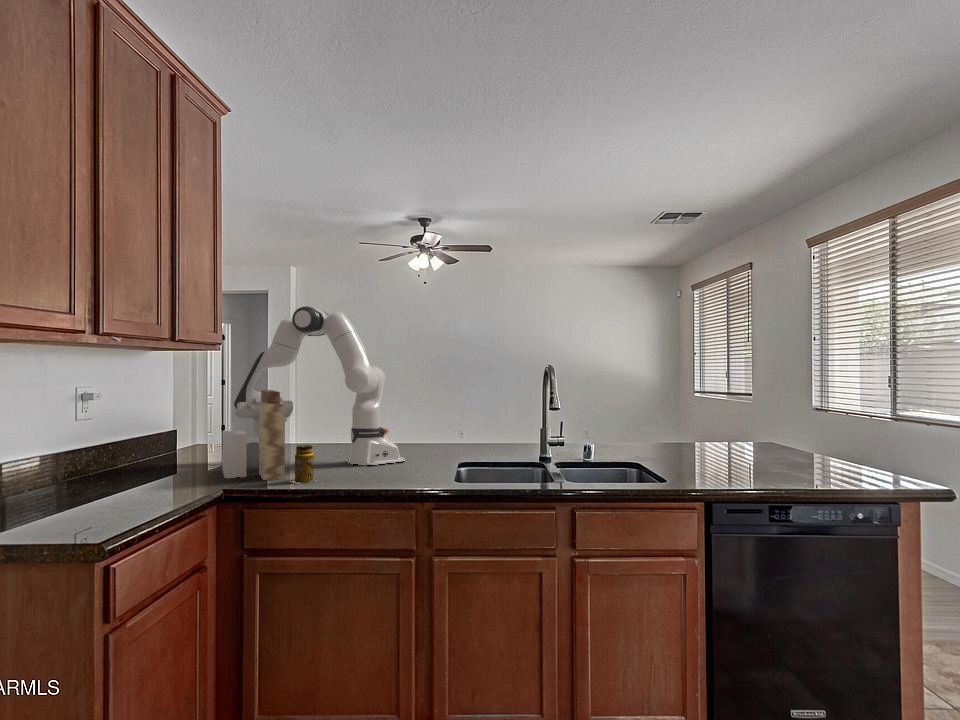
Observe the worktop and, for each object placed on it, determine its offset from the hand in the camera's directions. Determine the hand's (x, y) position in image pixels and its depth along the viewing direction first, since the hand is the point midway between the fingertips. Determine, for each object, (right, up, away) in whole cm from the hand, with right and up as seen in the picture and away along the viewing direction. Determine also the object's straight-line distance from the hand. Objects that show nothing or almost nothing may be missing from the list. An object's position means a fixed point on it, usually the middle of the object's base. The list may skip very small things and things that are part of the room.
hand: (267, 399), depth 224 cm
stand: (+6, -26, -13) cm, 30 cm away
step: (-9, -26, -8) cm, 29 cm away
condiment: (+19, -27, -21) cm, 39 cm away
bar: (+4, 0, -8) cm, 9 cm away
